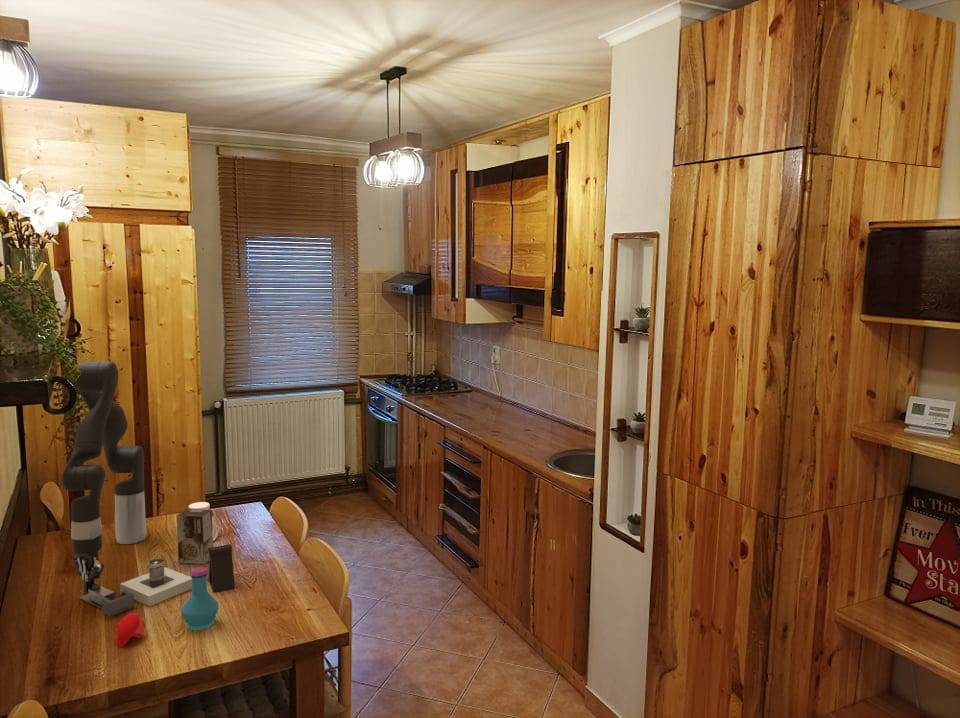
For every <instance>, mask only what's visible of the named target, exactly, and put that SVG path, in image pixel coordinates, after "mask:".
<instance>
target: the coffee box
mask: <svg viewBox="0 0 960 718" xmlns="http://www.w3.org/2000/svg"><path fill="white" fill-rule="evenodd" d="M212 511H213V510H212V509H211V510H200V509H189V508H186V509H184V510H182V511H181V512H179V513H178V514H177V515H175V516H176V517H175V518H176V532H177V533H176V534H177V553H178V554H177V555H178V556H177V557H178V563H179V564H194V565H195V564H197V565H205V564H207V563H208V562H209V548H212V547H214V544H213V543H214V542H213V536H212Z"/></svg>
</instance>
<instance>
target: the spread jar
mask: <svg viewBox="0 0 960 718" xmlns="http://www.w3.org/2000/svg"><path fill="white" fill-rule="evenodd" d="M210 506H211V505H210V503H209V502H207V501H198V502H197V501H196V502H194V503H190V504H189V505H188V509H200V510H212V509H211V508H210ZM218 534H219V529H218V527H217V525H216V524H215V516H214V512H213V510H212V536H213V541H215V540H216V539H217V537H218Z"/></svg>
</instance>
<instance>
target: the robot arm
mask: <svg viewBox="0 0 960 718" xmlns="http://www.w3.org/2000/svg"><path fill="white" fill-rule="evenodd" d="M76 365H77V367H78V369H79V371H81V375H80V376H79V378H78V380H77V382H76V384H75V386H76V385H77V387H76V389H77V388H78V389H77V392H78V393H79V394H80V397H81V398H82V400H83V401H84V403H85V405H86V407H87V409H88V411H89V412H88V413H87V414H86V415H85V416H84V417H83V419H82V420H81V421H80V423H79V425H78V427H77V428H76V433H75V438H74V439H75V441H74V444H73V445H74V446H73V451H72V453H71V455H70V457H69V460H68V462H67V463H66V464H65V465H66V466H65V468H64V470H63V472H62V475H61V485H62V486H63V488H64V489H65V490H66V491H72V492H74V491H89V494H87V495H83V496H79V497H77V498H75V499H72V501H71V504H70V513H71V514H70V515H71V516H70V517H71V523H70V524H71V525H70V533H71V535H70V539H71V551H72V553H74V554H76V556H73V557H72V561H73V565H74V568H75V569H76V572H77V574H78V576H79V577H81V580H82V581H83V590H84V593H86V594H89V593H88V589H90V588H92V585H93V584H94V583H95V580H97V579H99V578H100V576H101V575H102V572H103V571H104V568H105V564H103V563H101V564H100V562H99V559H100V557H99V554H98V552H99V551H100V550H101V549H102V548H103V532H102V531H103V530H102V521H101V511H100V509H101V507H100V504H101V502H100V500H101V495H102V490H103V487H104V485H105V481H106V471H105V468H104V467H103V466H102V465H101V464H84V463H85V462H88V461H91V460H95V459H98V458H99V457H100V456H101V454H102V452H103V451H104V455H105V460H106V463H107V467H108V469H109V471H110V472H111V473H112V474H132V475H131V477H129V478H128V479H125V480H123V481H122V480H121V481H120V482H117V483H116V484H115V485H114V489H113V490H114V491H113V492H114V528H115V529H114V531H115V539H116V543H117V544H120V545H130V544H132V545H133V544H138V543H140V542H142V541H145V540H146V538H147V528H146V527H147V526H146V525H147V524H146V522H147V521H146V501H145V498H146V497H145V452H144V448H143V447H142V446H140V445H126V446H125V445H124V446H120V445H118V444H119V442H120V441H121V439H122V438H123V437H124V436H125V434H126V432H127V430H128V425H129V424H128V420H127V417H126V414H125V411H124V409H123V408H122V406H121V405H120V404H118V403H117V402H116V401H115V400H114V398H115V394H116V391H117V387H118V383H119V369H118V367H117V365H116V363H115V362H114V361H108V360H107V361H104V360H103V361H82V362H78V363H77V364H76Z"/></svg>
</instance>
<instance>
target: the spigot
mask: <svg viewBox="0 0 960 718" xmlns="http://www.w3.org/2000/svg"><path fill="white" fill-rule="evenodd" d="M165 565H166V559H165V558H161V557H159V558H158V557H157V558H152V559H150V560H148V561H147V567H148V573H149V581H150V587H151V588H156V587H158V586H161V585H163V584H165V578H164V567H165Z"/></svg>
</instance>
